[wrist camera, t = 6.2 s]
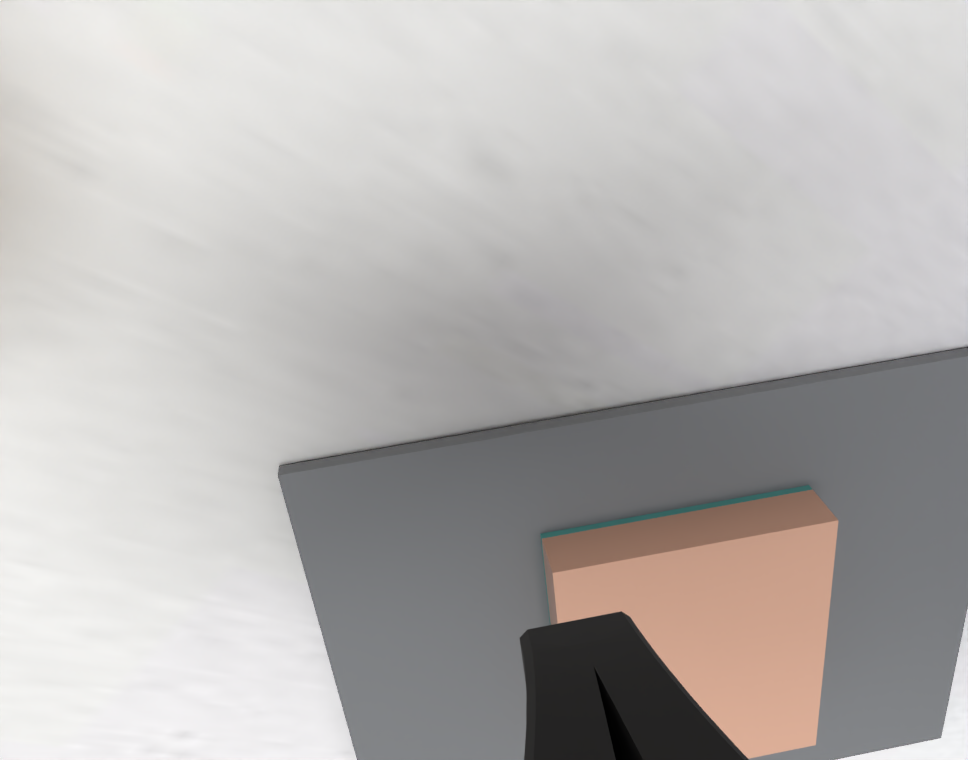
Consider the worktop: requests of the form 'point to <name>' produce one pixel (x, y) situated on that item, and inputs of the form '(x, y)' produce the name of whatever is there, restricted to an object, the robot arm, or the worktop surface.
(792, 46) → the worktop surface
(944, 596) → the rubber mat
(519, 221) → the worktop surface
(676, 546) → the glazed tile
